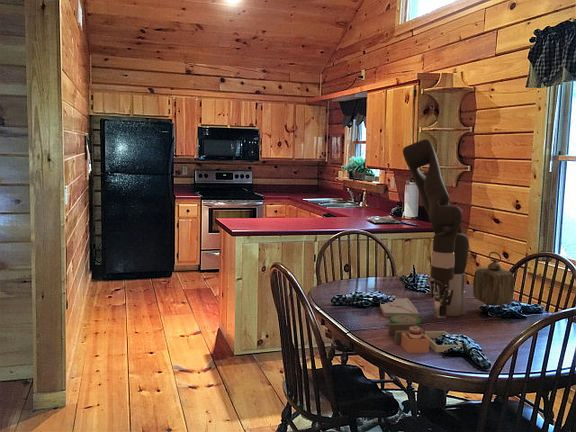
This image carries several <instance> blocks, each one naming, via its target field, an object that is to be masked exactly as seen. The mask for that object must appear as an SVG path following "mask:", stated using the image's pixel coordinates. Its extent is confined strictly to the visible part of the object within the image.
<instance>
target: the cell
mask: <svg viewBox="0 0 576 432" xmlns="http://www.w3.org/2000/svg"><path fill="white" fill-rule="evenodd" d="M441 296H444V295H441ZM442 301H443V299H442ZM439 307H440V300H439V298H438V295H435V302H434V301H433V316H434V318H438V319H444V318H445V319H446V317H447V315H446V316H444V317H441V316H439Z"/></svg>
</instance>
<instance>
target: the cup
mask: <svg viewBox="0 0 576 432" xmlns="http://www.w3.org/2000/svg"><path fill="white" fill-rule="evenodd" d="M400 347H402V348H403V349H404V351H405V352H407V354H422V353H424V354H427V353H430V346H429V338H427V337H426V336H425V335H424V334H423V333H422V336H421V339H409V332H407V333H401V345H400Z"/></svg>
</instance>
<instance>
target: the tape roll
mask: <svg viewBox="0 0 576 432" xmlns="http://www.w3.org/2000/svg"><path fill="white" fill-rule="evenodd" d="M393 323H416V324H417V326H418V327H420V328H421V319H420V317H419V318H417V317H414V316H410V315H396V316H393V317H390V321H389V324H393Z"/></svg>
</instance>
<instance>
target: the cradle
mask: <svg viewBox="0 0 576 432" xmlns="http://www.w3.org/2000/svg"><path fill="white" fill-rule="evenodd" d="M412 326H417V324H416V323H393V324H390V323H388V324H387V337H388V338H389V339H390V340H391V341H392V342H393V343H394V344H395V346H401V333H407V332H409V327H412ZM425 332H426V331H425V330H424V329H422V333H423V334H424V335H425Z"/></svg>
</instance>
